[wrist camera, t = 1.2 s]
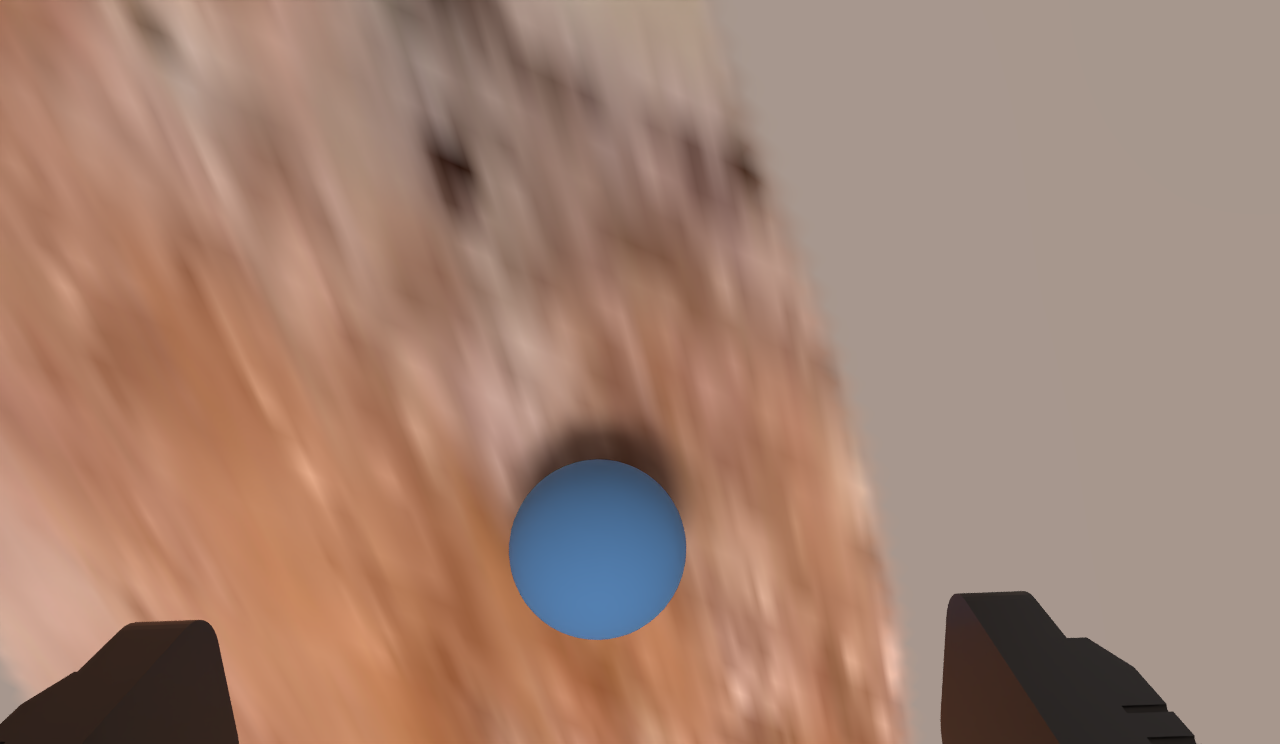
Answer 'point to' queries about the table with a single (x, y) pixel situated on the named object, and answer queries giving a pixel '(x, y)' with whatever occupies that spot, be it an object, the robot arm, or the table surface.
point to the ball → (597, 549)
